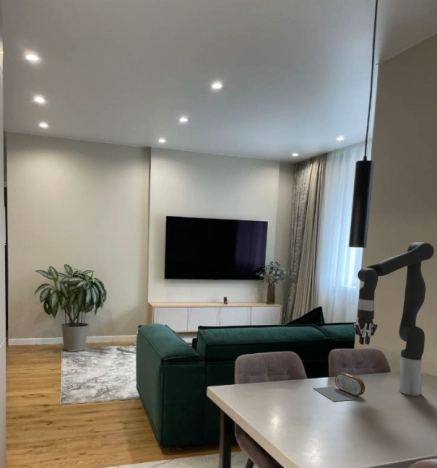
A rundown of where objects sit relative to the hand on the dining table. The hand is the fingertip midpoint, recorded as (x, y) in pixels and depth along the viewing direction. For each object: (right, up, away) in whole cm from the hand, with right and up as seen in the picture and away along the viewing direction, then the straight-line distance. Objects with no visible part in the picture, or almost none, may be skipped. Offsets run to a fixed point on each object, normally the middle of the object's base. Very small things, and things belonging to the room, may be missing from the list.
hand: (364, 344), depth 183 cm
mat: (-17, -22, -7) cm, 28 cm away
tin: (-9, -22, -4) cm, 24 cm away
